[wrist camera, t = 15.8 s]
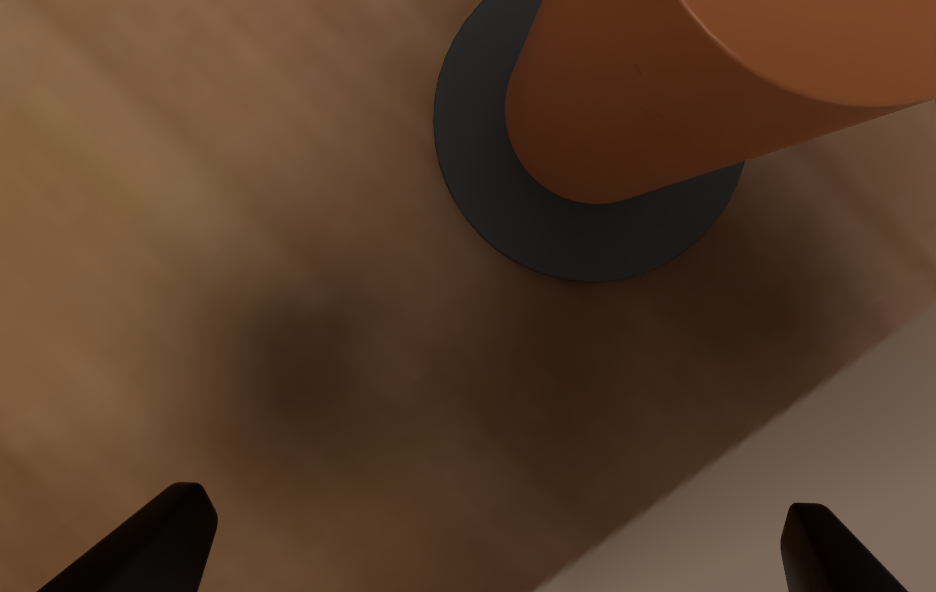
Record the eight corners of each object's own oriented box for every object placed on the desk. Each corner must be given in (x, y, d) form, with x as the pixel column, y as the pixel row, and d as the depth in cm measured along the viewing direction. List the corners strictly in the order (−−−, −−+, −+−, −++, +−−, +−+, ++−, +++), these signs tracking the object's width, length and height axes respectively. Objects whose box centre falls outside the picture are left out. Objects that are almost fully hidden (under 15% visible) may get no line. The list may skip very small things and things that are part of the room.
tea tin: (676, 213, 18) (1078, 133, 7) (495, 193, 17) (605, 75, 6) (698, 27, 17) (1154, -374, 6) (514, 4, 17) (663, -461, 6)
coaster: (806, 126, 18) (814, 123, 18) (589, 345, 18) (592, 347, 18) (592, -106, 17) (596, -115, 17) (366, 122, 17) (365, 118, 17)
